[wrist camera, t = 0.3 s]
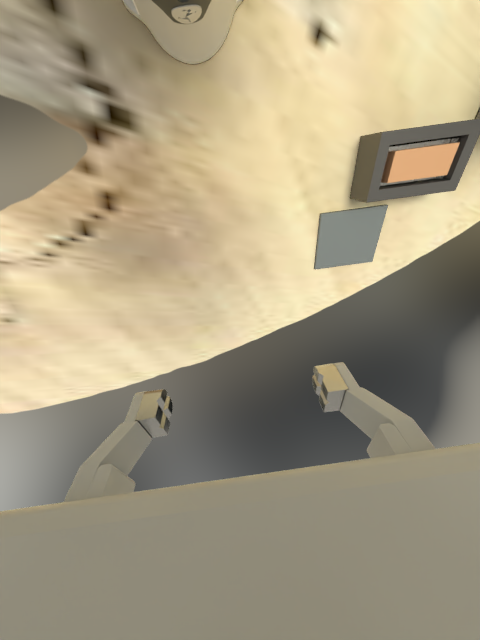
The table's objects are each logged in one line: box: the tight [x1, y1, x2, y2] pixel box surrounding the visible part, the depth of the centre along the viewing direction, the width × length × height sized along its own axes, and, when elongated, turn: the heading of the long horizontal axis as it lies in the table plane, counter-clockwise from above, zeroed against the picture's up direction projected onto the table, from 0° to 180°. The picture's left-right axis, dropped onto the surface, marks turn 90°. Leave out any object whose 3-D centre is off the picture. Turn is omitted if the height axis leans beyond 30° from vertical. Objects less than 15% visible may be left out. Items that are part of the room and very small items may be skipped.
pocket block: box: [350, 119, 480, 202], centre depth 43 cm, size 19×11×7 cm, turn 96°
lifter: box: [380, 138, 458, 186], centre depth 42 cm, size 13×6×2 cm, turn 96°
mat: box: [314, 205, 388, 269], centre depth 55 cm, size 14×16×1 cm
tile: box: [381, 142, 460, 183], centre depth 41 cm, size 12×5×2 cm, turn 96°
